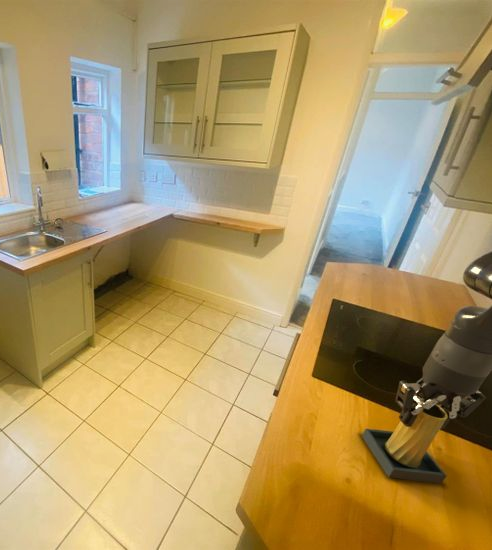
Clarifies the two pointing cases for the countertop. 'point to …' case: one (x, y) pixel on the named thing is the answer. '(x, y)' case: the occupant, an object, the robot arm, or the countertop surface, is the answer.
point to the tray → (394, 469)
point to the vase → (416, 436)
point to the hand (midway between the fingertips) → (420, 424)
